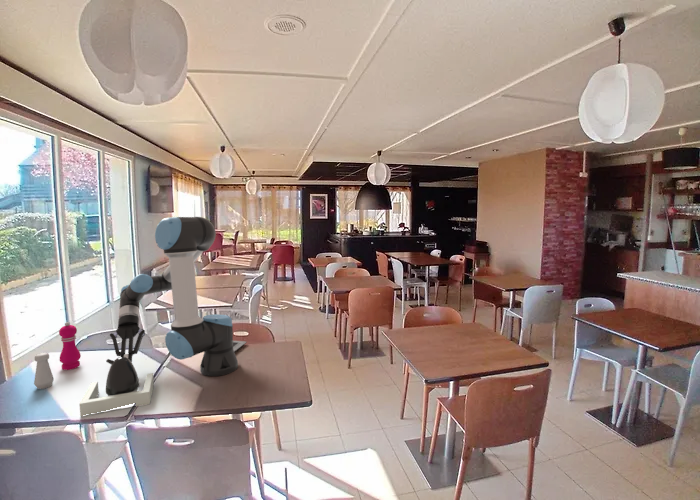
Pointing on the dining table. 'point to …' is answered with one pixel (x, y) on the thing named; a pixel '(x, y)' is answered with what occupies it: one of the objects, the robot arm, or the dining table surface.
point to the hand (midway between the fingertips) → (125, 371)
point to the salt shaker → (43, 372)
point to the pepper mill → (69, 347)
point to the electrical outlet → (237, 344)
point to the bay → (115, 398)
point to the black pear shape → (121, 377)
